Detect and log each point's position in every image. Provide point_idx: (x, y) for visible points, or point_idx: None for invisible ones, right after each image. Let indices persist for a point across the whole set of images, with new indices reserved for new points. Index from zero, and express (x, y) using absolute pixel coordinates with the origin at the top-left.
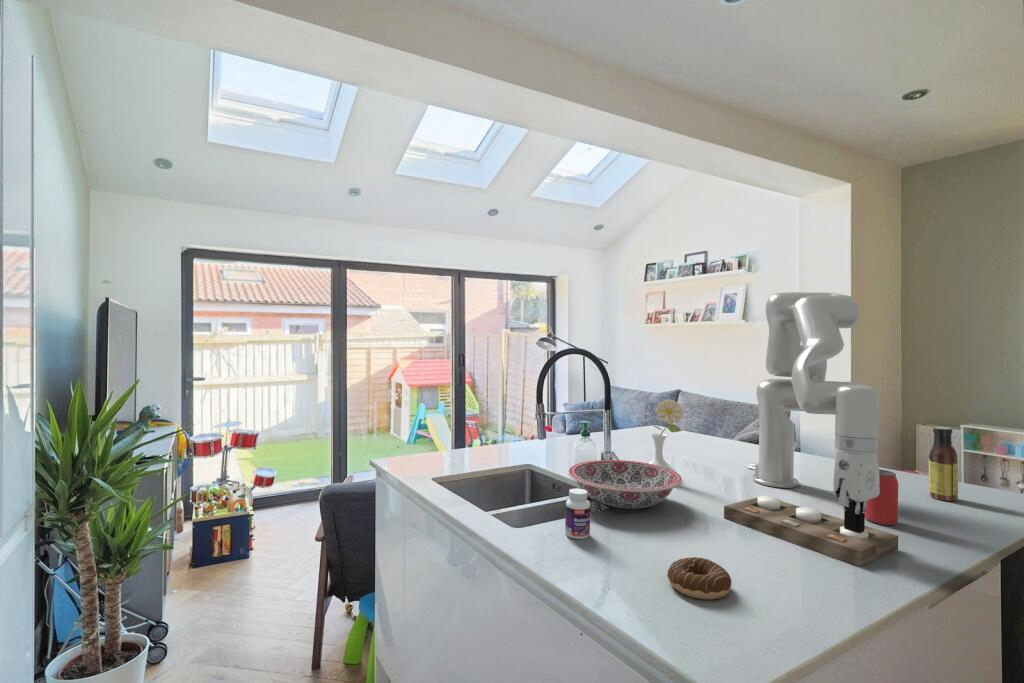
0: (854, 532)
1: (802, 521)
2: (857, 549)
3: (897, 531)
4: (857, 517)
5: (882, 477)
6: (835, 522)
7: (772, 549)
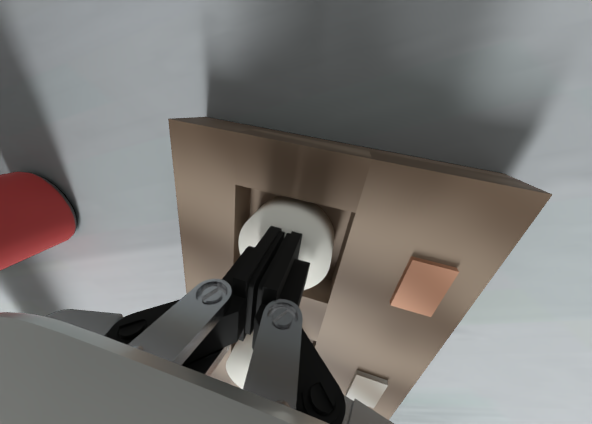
0: (308, 249)
1: None
2: (520, 208)
3: (68, 158)
4: (282, 288)
5: None
6: None
7: (507, 373)
